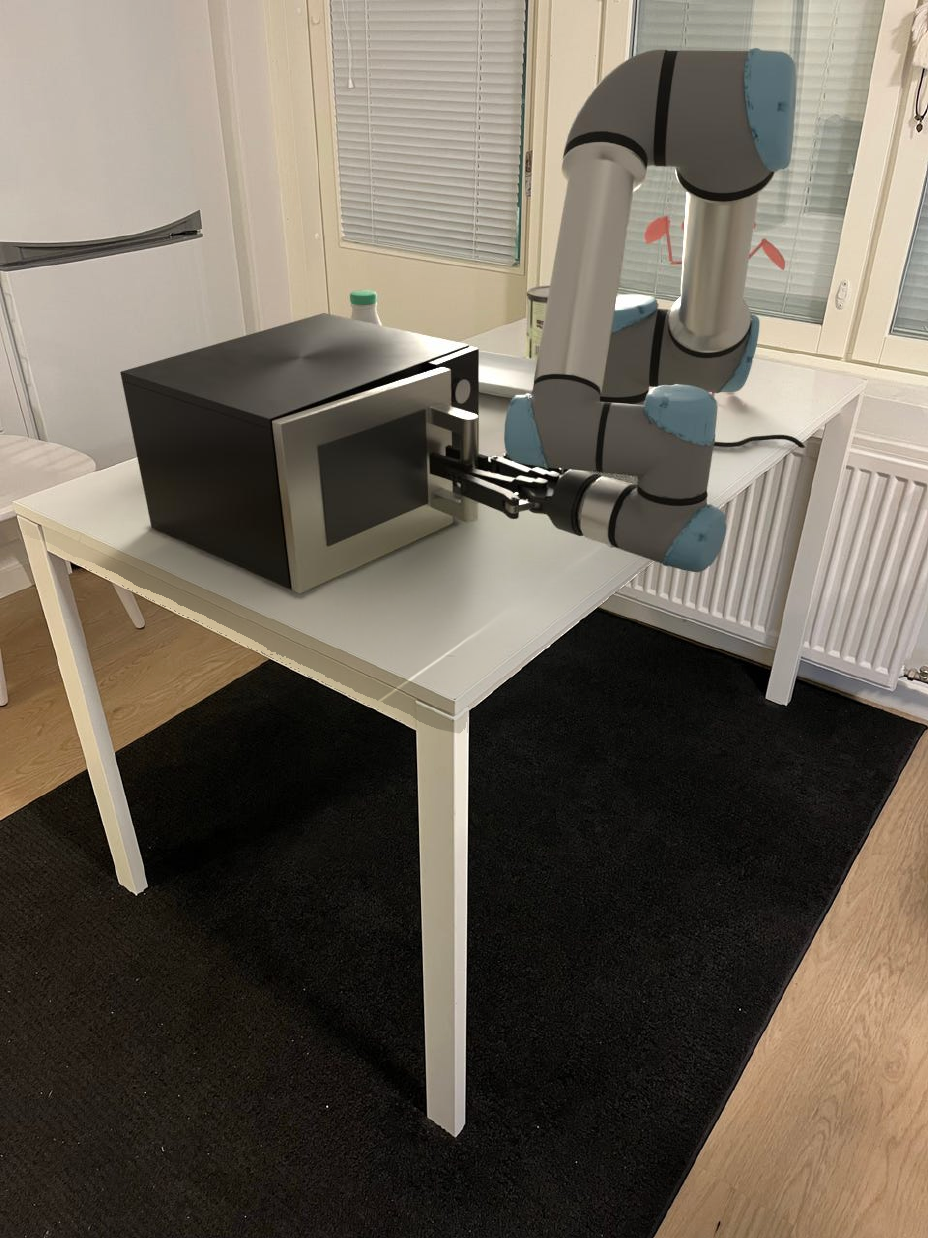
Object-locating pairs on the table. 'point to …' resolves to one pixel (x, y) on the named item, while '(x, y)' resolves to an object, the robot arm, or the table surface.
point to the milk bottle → (364, 306)
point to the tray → (505, 374)
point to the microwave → (261, 423)
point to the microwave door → (369, 475)
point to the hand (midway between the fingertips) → (439, 459)
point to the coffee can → (535, 319)
